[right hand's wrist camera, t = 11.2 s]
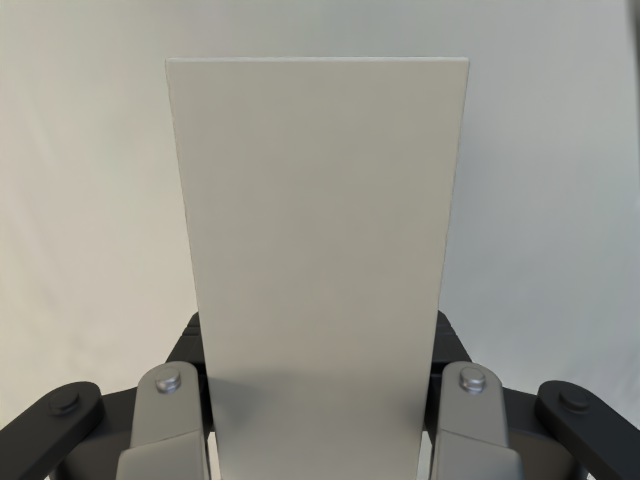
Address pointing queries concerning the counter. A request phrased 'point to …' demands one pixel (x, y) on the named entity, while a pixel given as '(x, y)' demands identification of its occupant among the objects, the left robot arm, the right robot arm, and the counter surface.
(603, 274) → the counter surface
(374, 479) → the beam
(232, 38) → the counter surface
